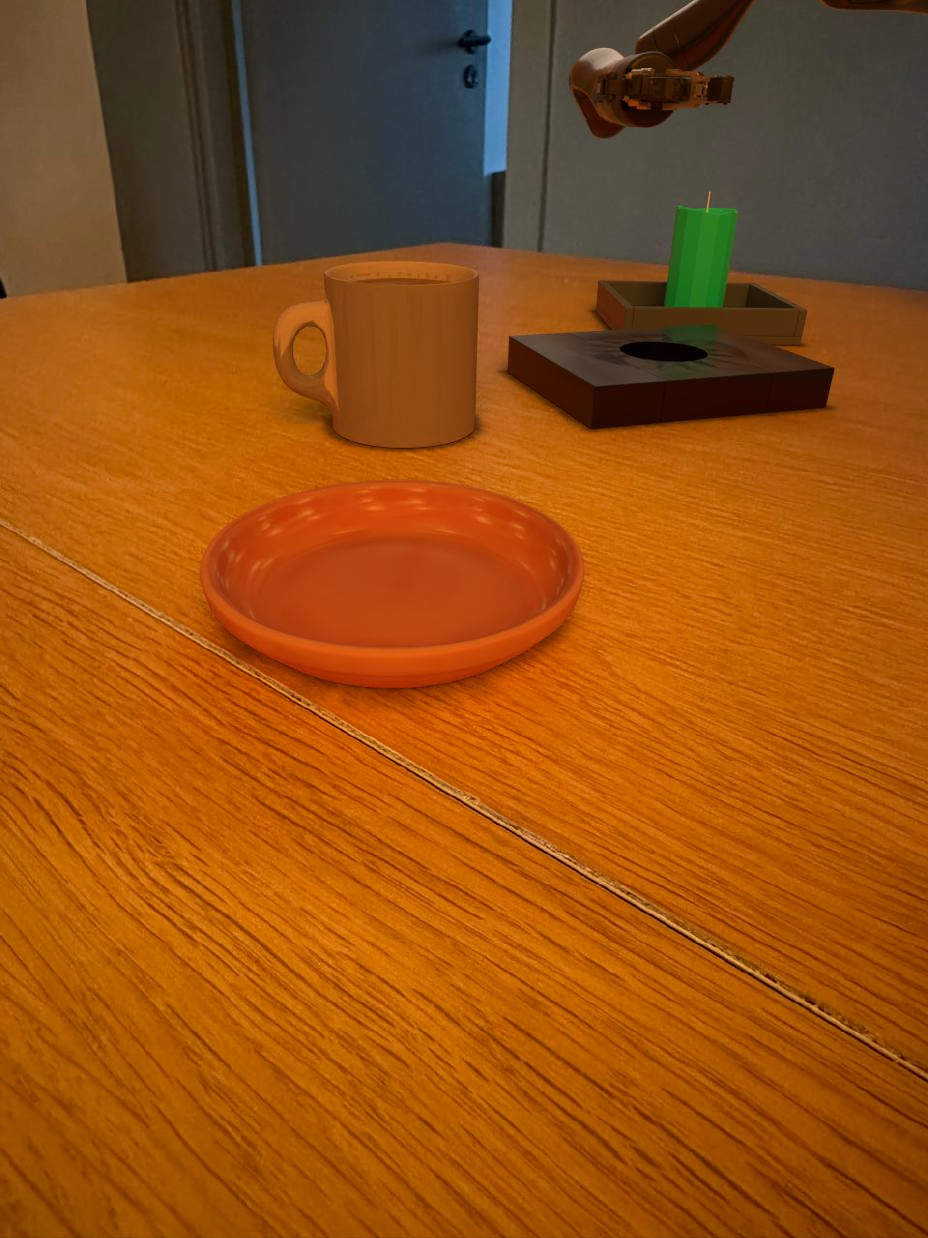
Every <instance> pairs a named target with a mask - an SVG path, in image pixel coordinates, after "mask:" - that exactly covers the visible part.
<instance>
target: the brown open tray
mask: <svg viewBox="0 0 928 1238" xmlns="http://www.w3.org/2000/svg"><path fill="white" fill-rule="evenodd" d="M666 286H667V280H607V279H606V280H603V279H599V280H598V281H597V290H596V291H597V292H596V301H595V302H596V303H595V312H596V314H597V316H599V317H600V318H601V319H602V321H603V322H604V323H605V324H606V325H607V327H608V328H609V330H622V329H640V328H658V327H677V326H695V325H712V324H716V325H718V326H721V327H724V328H727V329H729V330H732V331H735V332H738V333H740V334H743V335H746V336H749V337H751V338H754V339H757V340H759V341H762V342H765V343H768V344H770V345H773V346H800V345H801V344H802V337H803V333H804V329H805V324H806V319H807V315H808V310H807V309H806V308H804V307H802V306H800V305H798V304H796V303H795V302H793V301H790V300H789V299H787V298H784V297H783V296H781V295H779V294H777V293H775V292H773V291H771V290H770V289H767V288H766V287H764V286H761V285H759V284H758V283H756V282H738V281H737V282H736V281H735V282H733V281H732V282H730V281H727V284H726V290H725V296H724V302H723V307H664V301H665V294H666Z"/></svg>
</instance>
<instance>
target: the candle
mask: <svg viewBox="0 0 928 1238" xmlns="http://www.w3.org/2000/svg"><path fill="white" fill-rule="evenodd" d="M707 197H708V198H707V203H706V207H701V208H700V207H699V208H693V207H686V206H683V205H679V204H677V205H676V210H675V217H674V218H675V219H674V226H673V233H672V242H671V249H670V257H669V264H668V272H667V279H666V281H667V286H666V294H665V301H664V307H723V302H724V296H725V290H726V284H727V282H728V278H729V271H730V265H731V260H732V254H733V247H734V241H735V234H736V229H737V224H738V223H737V222H738V216H739V212H738V209H737V208H729V207H728V208H726V207H724V208H723V207H709V206H710V199H711V191H708V196H707Z"/></svg>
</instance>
